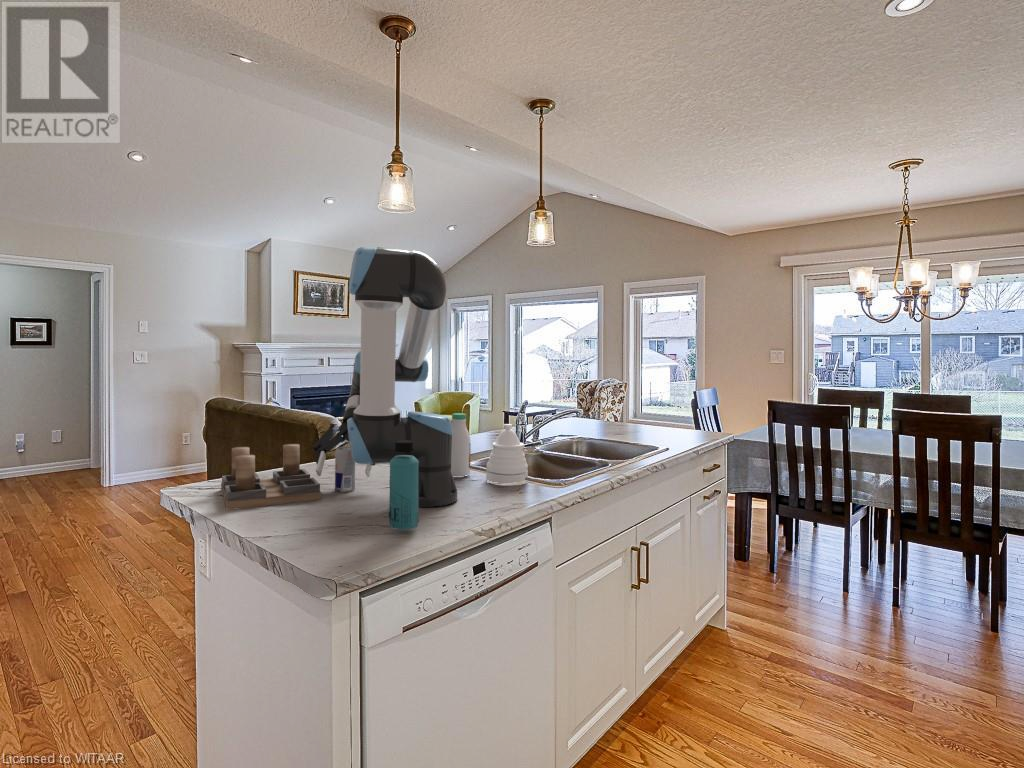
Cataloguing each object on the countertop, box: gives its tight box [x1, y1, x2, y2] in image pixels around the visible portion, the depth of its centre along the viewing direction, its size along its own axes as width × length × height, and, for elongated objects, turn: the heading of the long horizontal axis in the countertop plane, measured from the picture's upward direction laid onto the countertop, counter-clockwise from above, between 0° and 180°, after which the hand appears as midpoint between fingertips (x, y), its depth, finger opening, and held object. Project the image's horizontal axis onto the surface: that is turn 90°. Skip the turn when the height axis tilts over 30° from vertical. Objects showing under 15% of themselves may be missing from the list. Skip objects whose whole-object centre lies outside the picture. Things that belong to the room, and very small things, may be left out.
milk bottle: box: [451, 412, 472, 476], centre depth 176 cm, size 8×8×20 cm
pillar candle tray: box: [220, 443, 322, 510], centre depth 148 cm, size 22×22×12 cm
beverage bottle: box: [388, 440, 420, 530], centre depth 119 cm, size 6×7×20 cm
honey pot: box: [485, 423, 529, 483], centre depth 170 cm, size 13×13×18 cm
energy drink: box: [334, 446, 356, 493], centre depth 154 cm, size 5×5×12 cm
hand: (342, 473), depth 152 cm, fingers open, 13 cm apart
